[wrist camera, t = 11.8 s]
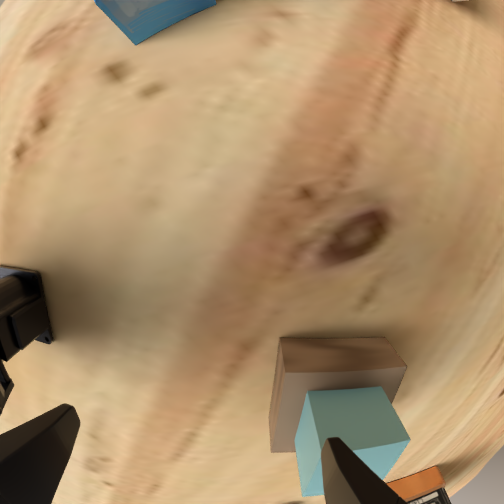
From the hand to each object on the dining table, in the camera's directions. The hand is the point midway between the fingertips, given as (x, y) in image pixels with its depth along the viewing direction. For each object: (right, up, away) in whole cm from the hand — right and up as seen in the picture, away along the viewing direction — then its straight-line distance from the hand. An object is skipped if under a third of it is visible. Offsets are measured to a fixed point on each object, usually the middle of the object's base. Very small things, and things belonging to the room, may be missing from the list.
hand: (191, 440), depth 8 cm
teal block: (+8, -5, +8) cm, 12 cm away
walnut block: (+8, -4, +12) cm, 15 cm away
